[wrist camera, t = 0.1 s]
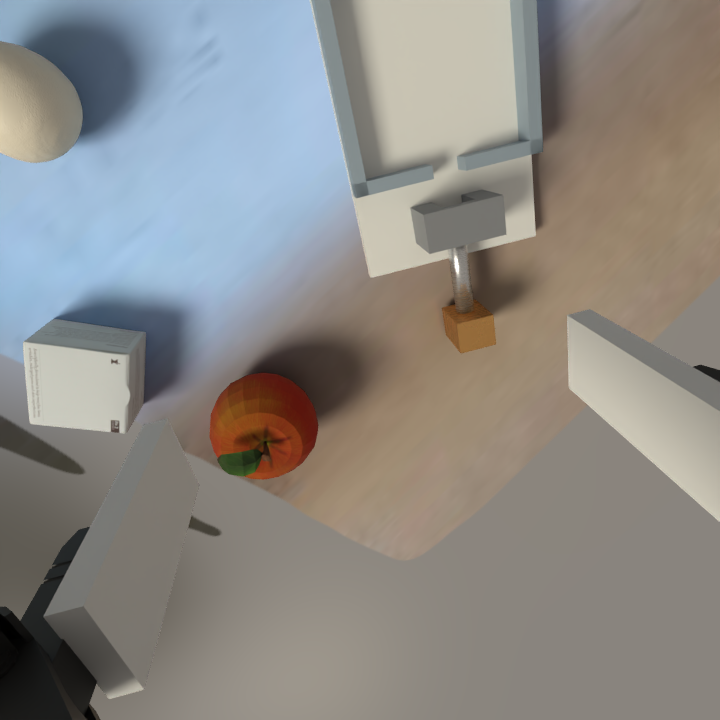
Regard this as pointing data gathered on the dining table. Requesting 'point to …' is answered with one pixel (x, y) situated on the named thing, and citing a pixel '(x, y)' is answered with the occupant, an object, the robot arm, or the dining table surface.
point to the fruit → (262, 426)
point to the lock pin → (466, 308)
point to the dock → (434, 121)
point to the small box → (85, 376)
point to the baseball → (36, 107)
